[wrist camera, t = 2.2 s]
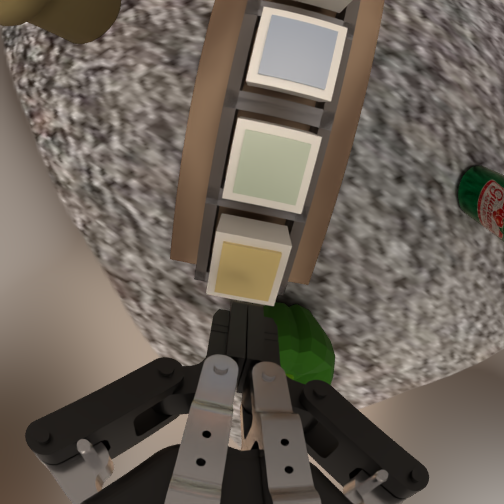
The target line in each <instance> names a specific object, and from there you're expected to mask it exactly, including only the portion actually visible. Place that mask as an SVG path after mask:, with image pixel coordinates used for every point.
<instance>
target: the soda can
mask: <svg viewBox="0 0 504 504" xmlns="http://www.w3.org/2000/svg"><path fill="white" fill-rule="evenodd" d="M458 200H459V204H460V207H461V209H462V210H463V212H464V213H465V214H467V215H468V216H470V217H471V218H472V219H474V220H475V221H477V222H478V223H479V224H481V225H482V226H484V227H485V228H486V229H488V230H489V231H490V232H492V233H493V234H494V235H496V236H497V237H498V238H500V239H501V240H502V241H503V242H504V175H502V174H500V173H497V172H495V171H493V170H491V169H488V168H486V167H483V166H474V167H472V168H470V169H469V170H468V171H467V172H466V173H465V174H464V175H463V177H462V179H461V181H460V184H459V189H458Z"/></svg>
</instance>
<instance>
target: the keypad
mask: <svg viewBox="0 0 504 504" xmlns="http://www.w3.org/2000/svg"><path fill="white" fill-rule="evenodd" d="M383 6H384V0H352V1H351V2H350V3H349V4H348V5H347V6H346V7H345V8H344V9H343V10H342V11H341V12H340V13H337V12H334V11H331V10H328V9H324V8H321V7H317V6H314V5H310V4H306V3H302V2H298V1H294V0H215V3H214V6H213V10H212V14H211V17H210V21H209V25H208V29H207V33H206V37H205V41H204V45H203V49H202V54H201V58H200V63H199V67H198V72H197V76H196V81H195V86H194V91H193V96H192V101H191V107H190V112H189V118H188V123H187V129H186V135H185V141H184V147H183V154H182V160H181V167H180V174H179V181H178V189H177V197H176V205H175V214H174V223H173V233H172V243H171V254H170V259H172V260H177V261H182V262H187V263H192V264H196V270H195V278H194V279H196V280H201V281H206V282H208V278H209V272H210V266H211V260H212V254H213V248H214V242H215V236H216V231H217V227H218V224H219V221H220V217H221V214H222V213H223V214H229V215H234V216H239V217H244V218H249V219H254V220H259V221H264V222H269V223H274V224H279V225H284V226H287V227H288V231H289V236H290V240H291V244H292V248H291V251H290V255H289V258H288V261H287V265H286V268H285V271H284V275H283V278H282V281H281V284H280V288H279V291H278V295H284V292H285V289H286V286H287V283H288V281H289V282H295V283H300V284H306V285H308V284H309V281H310V278H311V276H312V273H313V270H314V267H315V264H316V261H317V258H318V255H319V252H320V249H321V246H322V243H323V240H324V237H325V234H326V231H327V228H328V225H329V222H330V219H331V216H332V213H333V209H334V206H335V203H336V200H337V196H338V193H339V190H340V186H341V183H342V180H343V176H344V173H345V169H346V166H347V162H348V159H349V155H350V152H351V148H352V144H353V141H354V137H355V133H356V129H357V126H358V122H359V118H360V114H361V110H362V106H363V102H364V98H365V94H366V89H367V85H368V81H369V76H370V72H371V67H372V63H373V58H374V53H375V49H376V44H377V39H378V34H379V28H380V23H381V18H382V12H383ZM264 7H269V8H274V9H279V10H284V11H289V12H293V13H297V14H301V15H305V16H309V17H313V18H316V19H320V20H323V21H327V22H330V23H333V24H336V25H339V26H342V27H345V28H348V29H347V34H346V38H345V43H344V47H343V52H342V56H341V61H340V65H339V69H338V74H337V78H336V82H335V87H334V91H333V95H332V99H331V101H330V102H317V101H314V100H310V99H306V98H303V97H299V96H295V95H291V94H286V93H282V92H278V91H273V90H269V89H264V88H259V87H254V86H249V85H247V83H246V78H247V74H248V70H249V65H250V61H251V57H252V52H253V48H254V44H255V40H256V36H257V32H258V28H259V24H260V20H261V16H262V12H263V8H264ZM241 116H242V117H247V118H252V119H257V120H262V121H267V122H271V123H276V124H280V125H284V126H289V127H293V128H297V129H301V130H305V131H309V132H312V133H314V134H316V135H318V136H320V137H322V139H321V143H320V147H319V151H318V154H317V158H316V162H315V166H314V170H313V173H312V177H311V181H310V184H309V188H308V192H307V195H306V199H305V202H304V206H303V210H302V213H301V214H298V213H293V212H289V211H284V210H279V209H274V208H270V207H265V206H260V205H255V204H250V203H245V202H240V201H235V200H229V199H224V198H222V196H223V191H224V185H225V180H226V175H227V169H228V164H229V159H230V154H231V149H232V144H233V139H234V134H235V129H236V124H237V120H238V118H239V117H241Z"/></svg>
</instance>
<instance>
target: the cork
mask: <svg viewBox="0 0 504 504" xmlns="http://www.w3.org/2000/svg"><path fill="white" fill-rule="evenodd" d="M120 6H121V0H0V25H2V26H15V25H20V24H23V23H25V22H29V23H31V24H33V25H35V26H38V27H40V28H42V29H44V30H47V31H49V32H51V33H53V34H55V35H58V36H60V37H62V38H64V39H66V40H68V41H70V42H72V43H75V44H84V43H88V42H92V41H93V40H95V39H97V38H99V37H100V36H102V35H103V34H104V33H105V32H106V31H107V30H108V29H109V28H110V27H111V25H112V24H113V23H114V21H115V20H116V18H117V16H118V13H119V11H120Z"/></svg>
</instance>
